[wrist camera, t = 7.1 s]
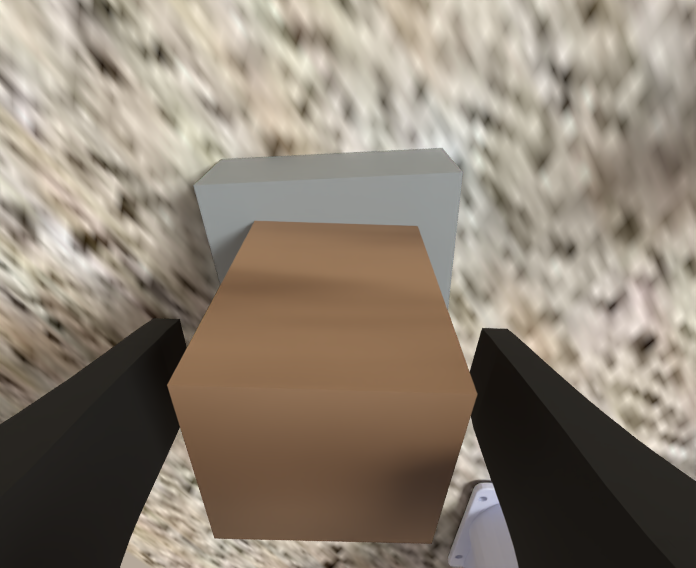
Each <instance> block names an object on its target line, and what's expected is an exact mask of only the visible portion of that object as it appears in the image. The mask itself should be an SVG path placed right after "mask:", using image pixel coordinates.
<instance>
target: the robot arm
mask: <svg viewBox="0 0 696 568" xmlns="http://www.w3.org/2000/svg"><path fill="white" fill-rule="evenodd" d="M186 349H187V347H186V343H185V339H184V335H183V331H182V327H181V323H180V319H155V318H154V319H152V320H151V321H149V322H148V323H146V324H145V325H143V326H142V327H140V328H139V329H137V330H136V331H135V332H133V333H132V334H131V335H129V336H128V337H126V338H125V339H124V340H122V341H121V342H120V343H118V344H117V345H115V346H114V347H113V348H111V349H110V350H109V351H107V352H106V353H105V354H103V355H102V356H100V357H99V358H98V359H96V360H95V361H93V362H92V363H91V364H89V365H88V366H86V367H85V368H84V369H82V370H81V371H79V372H78V373H77V374H75V375H74V376H73V377H71V378H70V379H68V380H67V381H65V382H64V383H62V384H61V385H59V386H58V387H56V388H55V389H53V390H52V391H50V392H49V393H47V394H46V395H44V396H43V397H41V398H40V399H38V400H37V401H35V402H34V403H32V404H31V405H29V406H28V407H26V408H25V409H23V410H22V411H20V412H19V413H17V414H16V415H14V416H13V417H11V418H10V419H8V420H6V421H5V422H3V423H2V424H0V568H120V566H121V563H122V560H123V557H124V554H125V552H126V549H127V546H128V543H129V540H130V538H131V535H132V533H133V530H134V528H135V525H136V523H137V521H138V518H139V516H140V514H141V511H142V509H143V507H144V505H145V503H146V500H147V498H148V496H149V494H150V492H151V490H152V487H153V485H154V483H155V481H156V479H157V477H158V474H159V472H160V470H161V468H162V466H163V463H164V461H165V459H166V457H167V455H168V453H169V450H170V448H171V446H172V444H173V441H174V439H175V437H176V435H177V433H178V430H179V428H180V425H179V422H178V419H177V415H176V412H175V409H174V406H173V403H172V399H171V396H170V393H169V390H168V386H167V384H168V383H169V381H170V379H171V377H172V375H173V373H174V371H175V369H176V368H177V366H178V364H179V362H180V360H181V358H182V356H183V354H184V353H185V351H186ZM470 375H471V378H472V380H473V383H474V386H475V389H476V392H477V397H476V400H475V403H474V407H473V410H472V413H471V419H472V424H473V428H474V431H475V434H476V437H477V440H478V443H479V446H480V449H481V452H482V455H483V458H484V461H485V463H486V466H487V469H488V472H489V475H490V478H491V481H492V483H479V484H477V485H476V486H475V487H474V489H473V492H472V494H471V497H470V500H469V502H468V505H467V508H466V511H465V513H464V516H463V519H462V521H461V524H460V527H459V529H458V532H457V535H456V537H455V540H454V543H453V545H452V548H451V551H450V553H449V556H448V562H449V565H450V566H453V567H464V568H696V481H695V480H693V479H692V478H690V477H689V476H688V475H686V474H685V473H683V472H682V471H680V470H679V469H678V468H676V467H675V466H673V465H672V464H671V463H669V462H668V461H666V460H665V459H664V458H662V457H661V456H659V455H658V454H656V453H655V452H654V451H652V450H651V449H650V448H648V447H647V446H646V445H644V444H643V443H642V442H640V441H639V440H638V439H636V438H635V437H634V436H632V435H631V434H630V433H629V432H627V431H626V430H625V429H624V428H622V427H621V426H620V425H619V424H617V423H616V422H615V421H614V420H612V419H611V418H610V417H609V416H607V415H606V414H605V413H603V412H602V411H601V410H600V409H599V408H597V407H596V406H595V405H594V404H593V403H591V402H590V401H589V400H588V399H587V398H585V397H584V396H583V395H582V394H581V393H580V392H578V391H577V390H576V389H575V388H574V387H573V386H572V385H570V384H569V383H568V382H567V381H566V380H565V379H564V378H562V377H561V376H560V375H559V374H558V373H557V372H556V371H554V370H553V369H552V368H551V367H550V366H549V365H548V364H547V363H546V362H544V361H543V360H542V359H541V358H540V357H539V356H538V355H537V354H536V353H534V352H533V351H532V350H531V349H530V348H529V347H528V346H527V345H526V344H524V343H523V342H522V341H521V340H520V339H519V338H518V337H517V336H515V335H514V334H513V333H512V332H511V331H509V330H508V329H494V328H482V330H481V334H480V337H479V341H478V345H477V348H476V352H475V355H474V359H473V362H472V366H471V369H470Z"/></svg>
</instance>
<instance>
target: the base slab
mask: <svg viewBox="0 0 696 568" xmlns="http://www.w3.org/2000/svg"><path fill="white" fill-rule="evenodd" d="M462 175H463V172H462V171H461V169H460V168H459V167H458V166H457V165H456V164H455V162H454V161H453V160H452V159H451V158H450V157H449V155H448V154H447V153H446V152H445V151H444V150H443V148H431V149H412V150H392V151H373V152H353V153H333V154H314V155H294V156H275V157H255V158H235V159H221V160H220V161H219V162H218V163H217V164H216V165H215V166H214V167H212V168H211V169H210V170H209V171H208V172H207V173H206V174H205V175H204V176H203V177H202V178H201V179H200V180H199V181H197V182H196V183H195V184H194V185H193V186H194V190H195V193H196V197H197V201H198V204H199V208H200V212H201V216H202V219H203V223H204V227H205V230H206V234H207V238H208V242H209V245H210V249H211V253H212V256H213V260H214V264H215V268H216V271H217V275H218V279H219V282H220V285H221V283H222V281H223V279H224V278H225V276H226V274H227V272H228V270H229V268H230V266H231V264H232V263H233V261H234V259H235V257H236V255H237V253H238V251H239V249H240V248H241V246H242V244H243V242H244V240H245V238H246V236H247V234H248V233H249V231H250V229H251V227H252V225H253V223H254V221H279V222H311V223H343V224H373V225H403V226H418V228H419V231H420V234H421V237H422V239H423V242H424V245H425V248H426V251H427V254H428V256H429V259H430V262H431V265H432V268H433V270H434V273H435V276H436V279H437V282H438V285H439V287H440V290H441V293H442V296H443V299H444V301H445V304H446V307H447V310H448V304H449V294H450V285H451V276H452V267H453V258H454V248H455V239H456V230H457V221H458V212H459V202H460V193H461V184H462Z"/></svg>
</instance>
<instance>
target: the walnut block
mask: <svg viewBox="0 0 696 568" xmlns="http://www.w3.org/2000/svg"><path fill="white" fill-rule="evenodd" d="M167 386H168V390H169V393H170V396H171V399H172V403H173V406H174V409H175V412H176V415H177V419H178V422H179V425H180V428H181V432H182V435H183V438H184V441H185V445H186V448H187V451H188V454H189V457H190V461H191V464H192V467H193V470H194V474H195V477H196V480H197V483H198V487H199V490H200V493H201V496H202V499H203V503H204V506H205V509H206V512H207V516H208V519H209V522H210V525H211V529H212V532H213V535H214V538H218V539H260V540H301V541H342V542H383V543H424V544H432V541H433V537H434V534H435V531H436V528H437V524H438V521H439V518H440V514H441V511H442V508H443V505H444V501H445V498H446V495H447V492H448V488H449V485H450V482H451V478H452V475H453V472H454V469H455V465H456V462H457V459H458V456H459V452H460V449H461V446H462V443H463V439H464V436H465V433H466V429H467V426H468V423H469V420H470V416H471V413H472V410H473V407H474V403H475V400H476V397H477V392H476V389H475V386H474V383H473V380H472V378H471V375H470V372H469V369H468V366H467V363H466V361H465V358H464V355H463V352H462V349H461V347H460V344H459V341H458V338H457V335H456V332H455V330H454V327H453V324H452V321H451V318H450V316H449V313H448V310H447V307H446V304H445V301H444V299H443V296H442V293H441V290H440V287H439V285H438V282H437V279H436V276H435V273H434V270H433V268H432V265H431V262H430V259H429V256H428V254H427V251H426V248H425V245H424V242H423V239H422V237H421V234H420V231H419V228H418V226H403V225H373V224H343V223H311V222H279V221H254V223H253V225H252V227H251V229H250V231H249V233H248V234H247V236H246V238H245V240H244V242H243V244H242V246H241V248H240V249H239V251H238V253H237V255H236V257H235V259H234V261H233V263H232V264H231V266H230V268H229V270H228V272H227V274H226V276H225V278H224V279H223V281H222V283H221V285H220V287H219V289H218V291H217V293H216V294H215V296H214V298H213V300H212V302H211V304H210V306H209V308H208V309H207V311H206V313H205V315H204V317H203V319H202V321H201V323H200V324H199V326H198V328H197V330H196V332H195V334H194V336H193V338H192V339H191V341H190V343H189V345H188V347H187V349H186V351H185V353H184V354H183V356H182V358H181V360H180V362H179V364H178V366H177V368H176V369H175V371H174V373H173V375H172V377H171V379H170V381H169V383H168V384H167Z"/></svg>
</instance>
